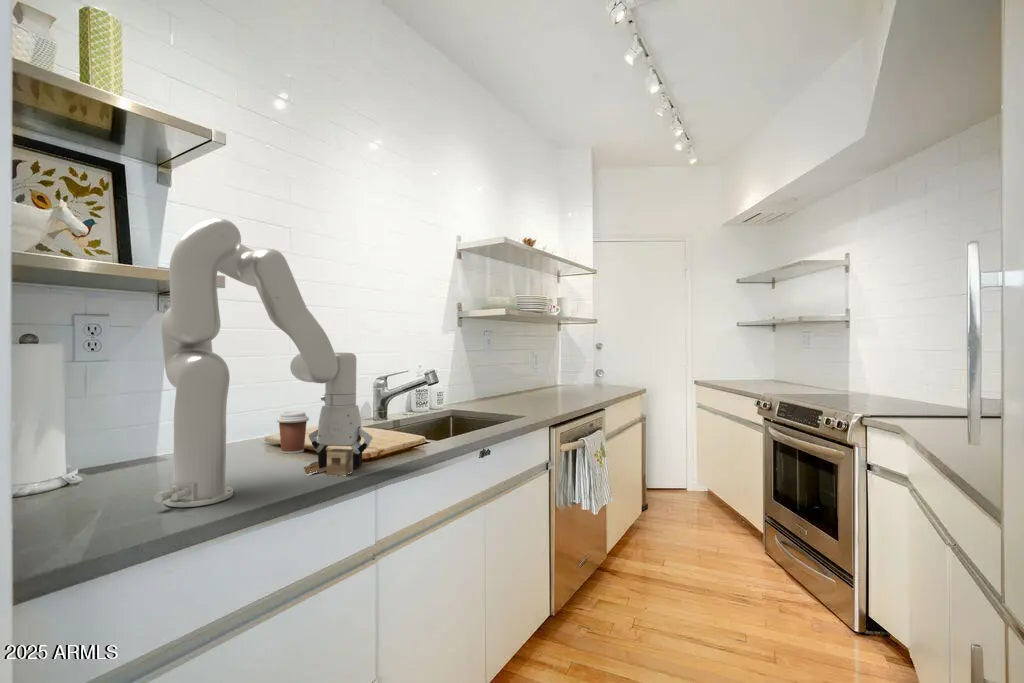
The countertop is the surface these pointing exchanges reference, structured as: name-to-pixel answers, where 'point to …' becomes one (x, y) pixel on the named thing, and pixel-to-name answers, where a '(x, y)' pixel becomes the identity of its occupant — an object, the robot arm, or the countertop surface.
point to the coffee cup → (292, 431)
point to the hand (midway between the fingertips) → (340, 467)
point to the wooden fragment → (314, 468)
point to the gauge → (340, 461)
